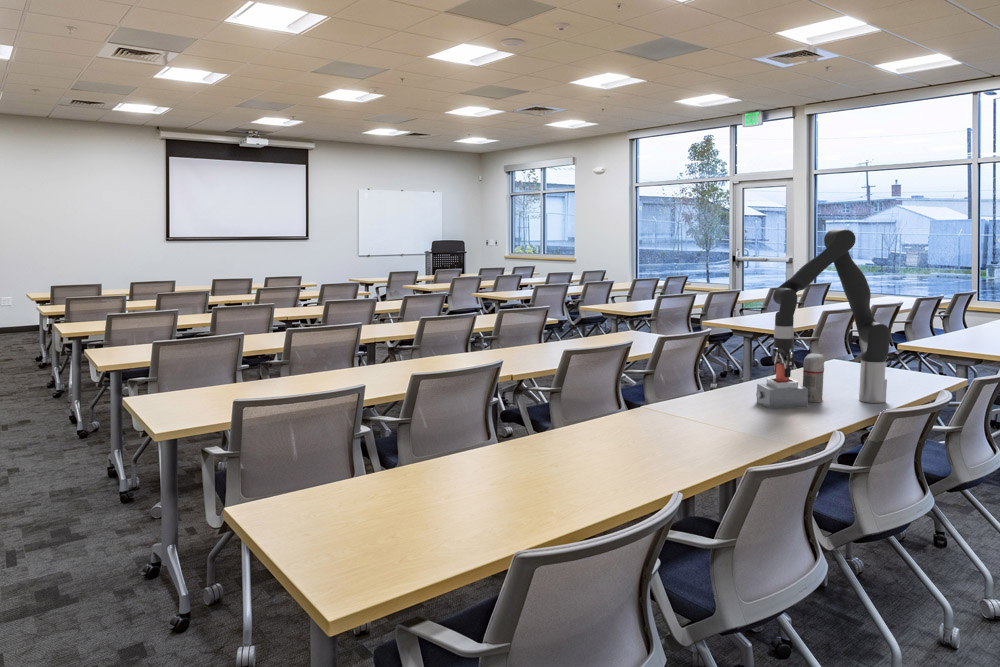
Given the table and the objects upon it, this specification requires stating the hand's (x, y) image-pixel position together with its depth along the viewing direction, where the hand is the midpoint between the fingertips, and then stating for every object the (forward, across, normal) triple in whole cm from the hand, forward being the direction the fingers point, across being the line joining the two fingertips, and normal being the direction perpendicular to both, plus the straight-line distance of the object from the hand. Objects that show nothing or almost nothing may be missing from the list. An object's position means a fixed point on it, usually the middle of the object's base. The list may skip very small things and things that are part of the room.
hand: (782, 375), depth 295 cm
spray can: (+13, +5, -16) cm, 21 cm away
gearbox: (+13, 0, 0) cm, 13 cm away
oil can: (+4, 0, 0) cm, 4 cm away
